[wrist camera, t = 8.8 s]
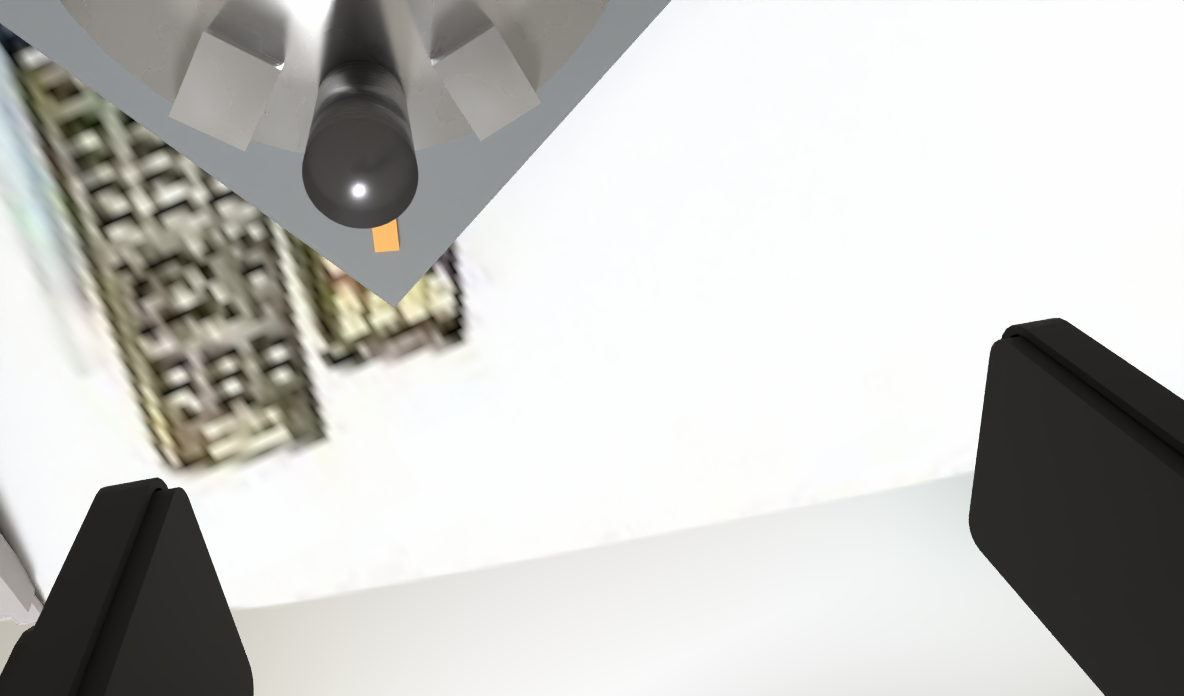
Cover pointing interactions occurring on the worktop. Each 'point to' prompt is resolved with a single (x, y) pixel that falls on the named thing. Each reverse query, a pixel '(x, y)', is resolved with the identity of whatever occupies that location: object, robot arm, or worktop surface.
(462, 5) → the grey round knob
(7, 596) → the caliper
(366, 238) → the mount plate
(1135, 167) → the worktop surface
